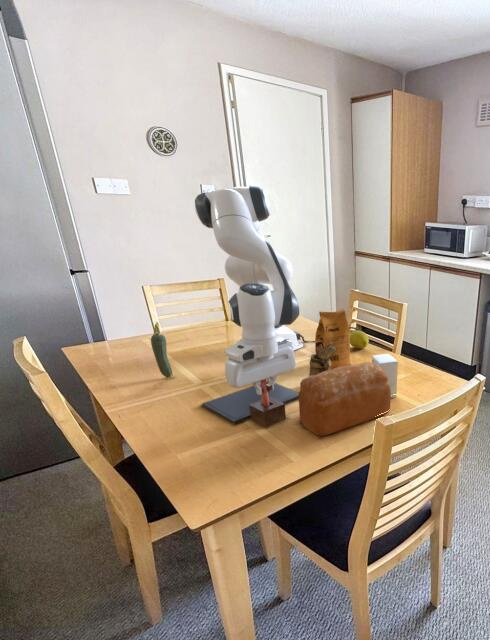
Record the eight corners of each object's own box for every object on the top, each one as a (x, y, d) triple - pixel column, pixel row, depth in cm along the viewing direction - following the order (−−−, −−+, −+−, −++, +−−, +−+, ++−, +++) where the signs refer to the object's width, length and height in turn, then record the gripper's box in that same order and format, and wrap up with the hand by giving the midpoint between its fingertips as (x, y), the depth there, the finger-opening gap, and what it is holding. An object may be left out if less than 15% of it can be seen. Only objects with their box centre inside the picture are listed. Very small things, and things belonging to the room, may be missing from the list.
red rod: (269, 417, 120) (262, 374, 115) (273, 419, 119) (266, 375, 114) (264, 419, 119) (256, 375, 114) (267, 421, 118) (260, 377, 113)
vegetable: (167, 381, 139) (154, 324, 131) (156, 380, 140) (143, 323, 131) (176, 377, 143) (165, 321, 135) (165, 375, 144) (153, 320, 135)
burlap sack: (318, 399, 133) (316, 347, 126) (303, 384, 143) (300, 335, 136) (343, 393, 138) (342, 343, 130) (327, 379, 148) (325, 332, 140)
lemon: (372, 350, 180) (372, 332, 177) (357, 353, 175) (357, 335, 172) (359, 343, 187) (359, 326, 184) (344, 346, 183) (344, 329, 179)
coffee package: (313, 363, 161) (310, 309, 152) (341, 358, 168) (340, 305, 159) (323, 372, 154) (321, 315, 145) (352, 366, 161) (352, 311, 152)
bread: (394, 413, 127) (396, 366, 121) (320, 440, 110) (317, 388, 104) (368, 397, 136) (368, 353, 130) (295, 420, 119) (292, 371, 113)
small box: (396, 397, 137) (398, 361, 132) (379, 400, 135) (380, 363, 129) (387, 387, 144) (388, 353, 139) (370, 390, 141) (371, 355, 136)
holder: (271, 411, 124) (269, 396, 122) (286, 418, 120) (284, 403, 118) (250, 419, 118) (248, 404, 116) (265, 427, 115) (264, 412, 113)
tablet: (269, 383, 142) (269, 380, 142) (301, 397, 134) (301, 394, 133) (202, 406, 124) (201, 403, 124) (234, 424, 116) (234, 421, 115)
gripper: (284, 335, 120) (288, 378, 125) (218, 352, 104) (226, 400, 110) (298, 340, 116) (301, 384, 122) (233, 357, 101) (239, 407, 106)
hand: (265, 392), depth 116 cm, fingers closed on red rod, 2 cm apart
